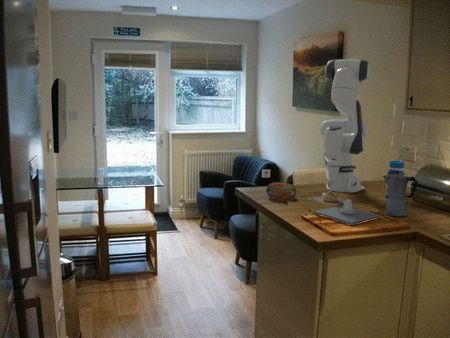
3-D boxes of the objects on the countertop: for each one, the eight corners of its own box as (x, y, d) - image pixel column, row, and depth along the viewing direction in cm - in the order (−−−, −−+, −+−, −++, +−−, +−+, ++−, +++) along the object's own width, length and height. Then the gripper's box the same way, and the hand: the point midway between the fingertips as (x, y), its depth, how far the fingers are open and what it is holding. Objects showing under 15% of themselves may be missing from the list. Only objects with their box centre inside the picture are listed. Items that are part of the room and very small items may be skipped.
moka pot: (383, 209, 205) (387, 167, 202) (417, 216, 196) (422, 171, 192) (375, 213, 198) (379, 169, 195) (411, 220, 189) (415, 174, 185)
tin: (265, 198, 222) (266, 181, 221) (268, 196, 225) (269, 180, 223) (294, 202, 215) (295, 185, 214) (296, 201, 218) (297, 184, 217)
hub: (343, 208, 206) (344, 192, 204) (380, 218, 190) (382, 201, 189) (313, 214, 194) (315, 197, 193) (351, 226, 178) (352, 208, 177)
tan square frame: (322, 198, 218) (322, 192, 218) (335, 199, 217) (336, 193, 217) (323, 201, 212) (323, 195, 211) (337, 202, 211) (337, 196, 210)
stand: (327, 197, 226) (328, 186, 225) (353, 204, 213) (354, 192, 212) (305, 201, 216) (306, 189, 215) (331, 209, 204) (332, 196, 203)
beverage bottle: (403, 202, 220) (407, 163, 216) (385, 201, 221) (389, 162, 218) (400, 199, 228) (404, 160, 225) (383, 197, 230) (386, 159, 226)
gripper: (323, 157, 221) (321, 184, 223) (327, 162, 201) (325, 192, 203) (336, 158, 221) (334, 185, 223) (341, 163, 200) (339, 193, 202)
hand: (330, 188), depth 213 cm, fingers open, 8 cm apart
